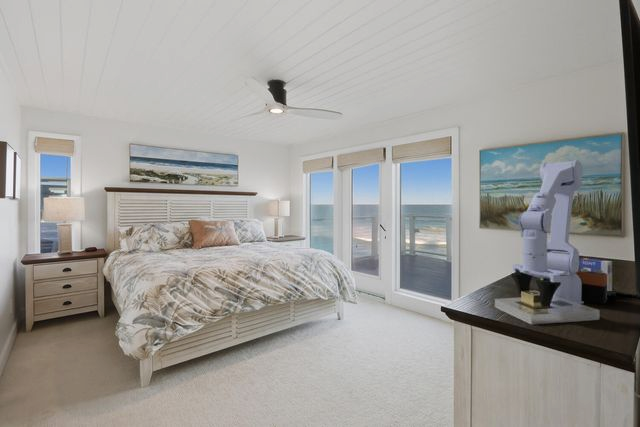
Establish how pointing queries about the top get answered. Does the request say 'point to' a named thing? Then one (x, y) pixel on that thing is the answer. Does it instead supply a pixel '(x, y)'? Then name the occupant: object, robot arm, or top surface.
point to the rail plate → (548, 311)
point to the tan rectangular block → (531, 300)
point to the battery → (593, 286)
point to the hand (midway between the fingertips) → (534, 301)
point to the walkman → (598, 268)
